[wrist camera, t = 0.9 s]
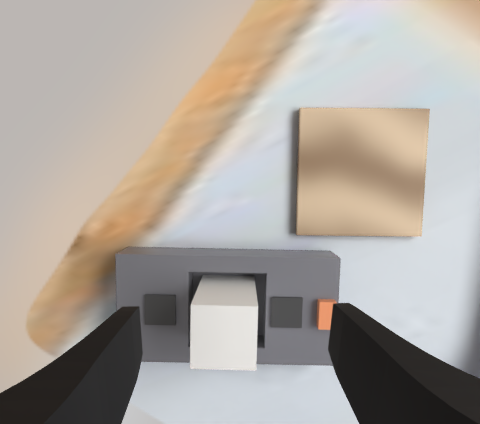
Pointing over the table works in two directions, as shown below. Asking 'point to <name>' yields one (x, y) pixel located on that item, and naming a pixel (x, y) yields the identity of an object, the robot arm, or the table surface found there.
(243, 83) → the table surface
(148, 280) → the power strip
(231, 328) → the white rectangular block
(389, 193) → the cork coaster
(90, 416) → the robot arm
